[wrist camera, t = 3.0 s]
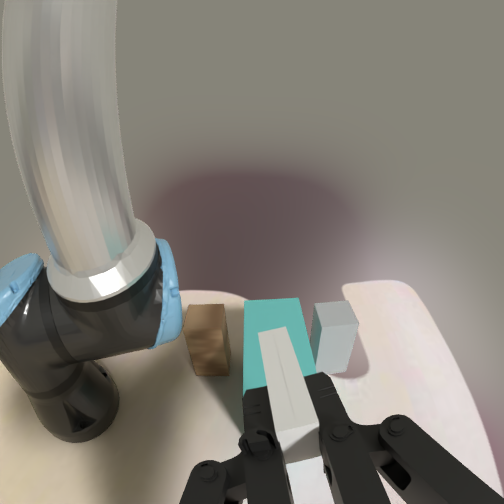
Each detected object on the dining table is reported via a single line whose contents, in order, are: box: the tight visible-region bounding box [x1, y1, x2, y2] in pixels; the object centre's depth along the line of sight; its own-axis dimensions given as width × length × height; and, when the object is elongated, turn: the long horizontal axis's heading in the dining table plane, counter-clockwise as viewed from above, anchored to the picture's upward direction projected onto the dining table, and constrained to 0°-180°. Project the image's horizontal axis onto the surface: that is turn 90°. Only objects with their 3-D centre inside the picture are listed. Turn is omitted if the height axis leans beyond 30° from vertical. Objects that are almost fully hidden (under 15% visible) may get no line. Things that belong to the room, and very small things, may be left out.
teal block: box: [243, 298, 317, 396], centre depth 31 cm, size 7×15×12 cm, turn 1°
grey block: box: [310, 301, 359, 374], centre depth 37 cm, size 5×5×10 cm
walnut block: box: [183, 304, 231, 376], centre depth 38 cm, size 5×5×10 cm
